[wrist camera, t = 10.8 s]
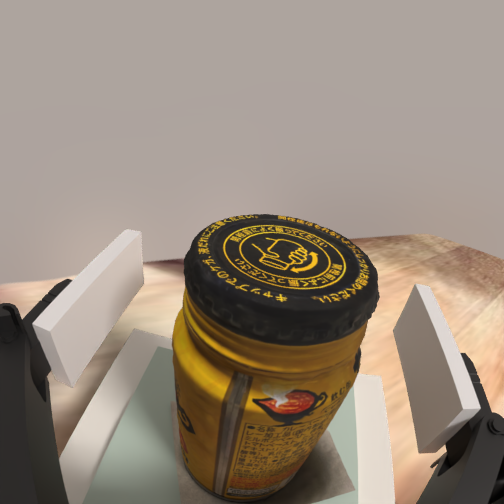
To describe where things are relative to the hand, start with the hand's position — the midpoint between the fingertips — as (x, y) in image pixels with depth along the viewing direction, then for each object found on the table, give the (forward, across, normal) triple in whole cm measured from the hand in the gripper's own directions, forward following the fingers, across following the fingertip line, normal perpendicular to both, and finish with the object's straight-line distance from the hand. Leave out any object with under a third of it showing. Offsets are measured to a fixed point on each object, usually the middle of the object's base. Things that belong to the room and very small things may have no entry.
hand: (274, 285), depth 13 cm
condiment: (-4, +1, -8) cm, 9 cm away
